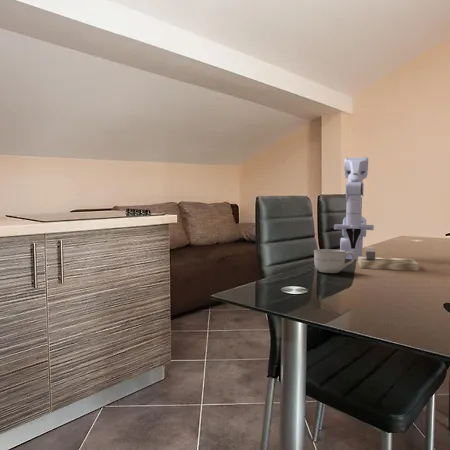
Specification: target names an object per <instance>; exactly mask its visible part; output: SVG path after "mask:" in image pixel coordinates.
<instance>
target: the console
mask: <svg viewBox="0 0 450 450" xmlns="http://www.w3.org/2000/svg"><path fill="white" fill-rule="evenodd" d="M357 263H358V265H359V268H360V269H369V270H370V269H371V270H372V269H373V270H374V269H375V270H396V271H420V270H419V269H420V268H419V267H420V263H418V262H417V261H416V260H415V259H413V258H405V257H404V258H401V257H380V256H379V257H378V256H377V257H376V256H375V260H372V259H366V256H363V257H358V260H357Z"/></svg>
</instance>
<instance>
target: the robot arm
mask: <svg viewBox="0 0 450 450" xmlns="http://www.w3.org/2000/svg"><path fill="white" fill-rule="evenodd" d="M343 164H344V166H343V167H344V168H343V169H344V176H345V178H346V179H347V183H345V201H346V205H345V206H346V207H345V208H346V209H345V210H346V211H345V214H346V215H345V217H344V218H343V220H342V224H341V223H340V224H339V223H336V224H334V225H333V229H334V230H341V235H342V236H343V237H341V238H340V241H339V245H340V247H339V250H344V251H345V253H346V252H352V253H354V255H355V260H357V261H358V257H364V256H363V251H364V250H363V249H364V248H363V247H364V245H363V243H364V238H365V237H366V236H367V231H374V227H375V226H374V224H367V220H366V217H365V216H363V214H362V212H363V211H362V209H363V197H364V189H365V188H364V181H363V180H365V179H366V178H368V173H369V172H368V170H369V157H368V156H364V157H363V156H362V157H360V156H359V157H356V156H355V157H345V158H344V163H343ZM351 259H352V255H350V254H348V255H347V256H346V259H345V260H351Z"/></svg>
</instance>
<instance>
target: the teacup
mask: <svg viewBox="0 0 450 450" xmlns="http://www.w3.org/2000/svg"><path fill="white" fill-rule="evenodd" d="M313 253H314V254H313V256H314V257H313V261H314V267H315V269H316V270H318V271H319V272H320V273H324V274H337V273H340V272H341V271H342V270H343V269H345V268H347V267H348V266H350V265H351V264H353V263H354V262H355V260H356V259H355V255H354V253H352V252H346V253H345V251H344V250H340V249H331V248H330V249H328V248H327V249H326V248H325V249H324V248H322V249H313ZM348 254H350V255H352V259H350V260H349V261H347V262H345V261H346V260H347V259H346V256H347V255H348Z"/></svg>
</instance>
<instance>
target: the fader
mask: <svg viewBox="0 0 450 450" xmlns="http://www.w3.org/2000/svg"><path fill="white" fill-rule="evenodd" d="M365 257H366V259H372V260H375V257H376V247H375V246H365Z"/></svg>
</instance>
